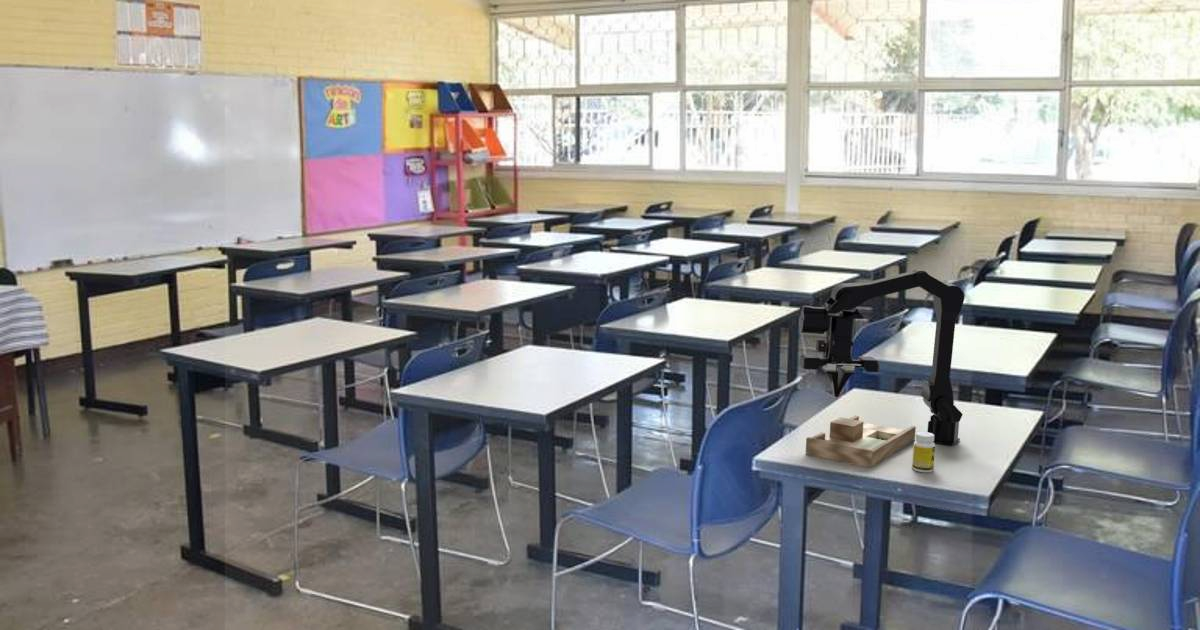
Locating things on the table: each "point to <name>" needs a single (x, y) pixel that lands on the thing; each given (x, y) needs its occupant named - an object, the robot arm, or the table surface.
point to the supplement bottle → (923, 452)
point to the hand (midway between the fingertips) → (835, 396)
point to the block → (846, 429)
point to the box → (861, 445)
